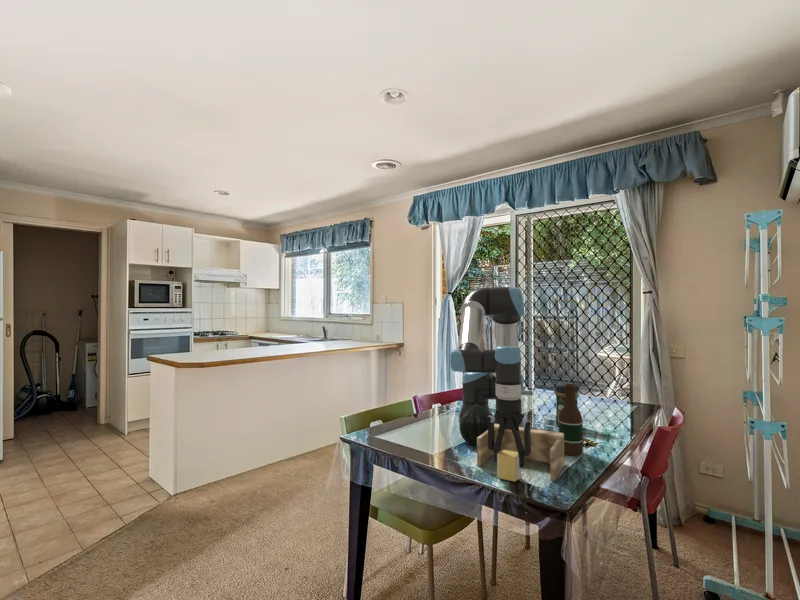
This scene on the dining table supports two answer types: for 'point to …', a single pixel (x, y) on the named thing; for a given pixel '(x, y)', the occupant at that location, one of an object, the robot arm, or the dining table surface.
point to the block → (507, 465)
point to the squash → (474, 423)
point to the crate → (542, 447)
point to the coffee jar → (562, 399)
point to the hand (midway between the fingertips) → (509, 475)
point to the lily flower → (588, 441)
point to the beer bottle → (571, 423)
